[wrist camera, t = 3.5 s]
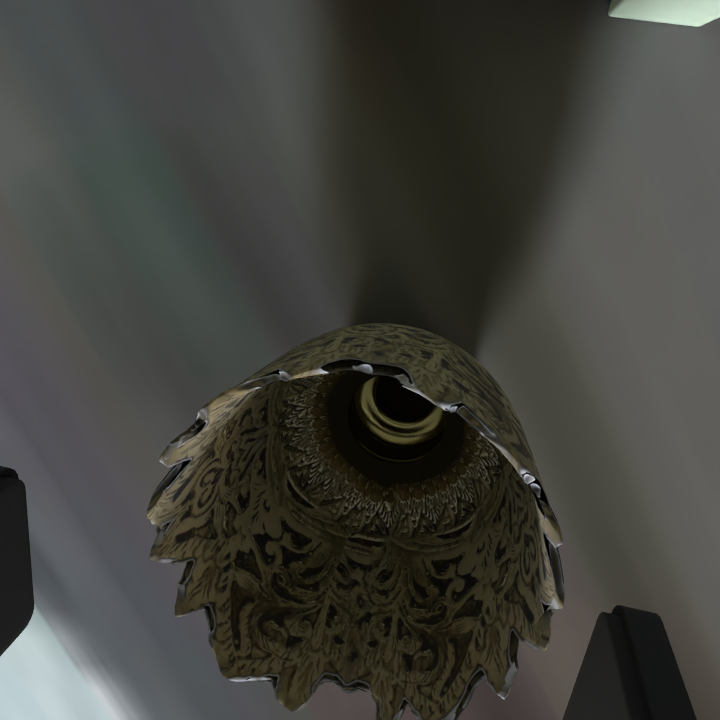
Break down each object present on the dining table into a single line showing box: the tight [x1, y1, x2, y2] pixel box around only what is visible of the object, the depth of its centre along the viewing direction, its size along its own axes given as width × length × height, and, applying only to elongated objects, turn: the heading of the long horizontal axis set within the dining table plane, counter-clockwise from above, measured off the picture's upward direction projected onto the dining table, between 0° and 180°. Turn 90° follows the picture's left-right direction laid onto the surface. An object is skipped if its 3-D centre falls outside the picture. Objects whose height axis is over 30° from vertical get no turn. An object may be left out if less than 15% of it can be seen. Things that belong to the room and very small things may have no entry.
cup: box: [147, 323, 564, 720], centre depth 15 cm, size 8×7×8 cm
